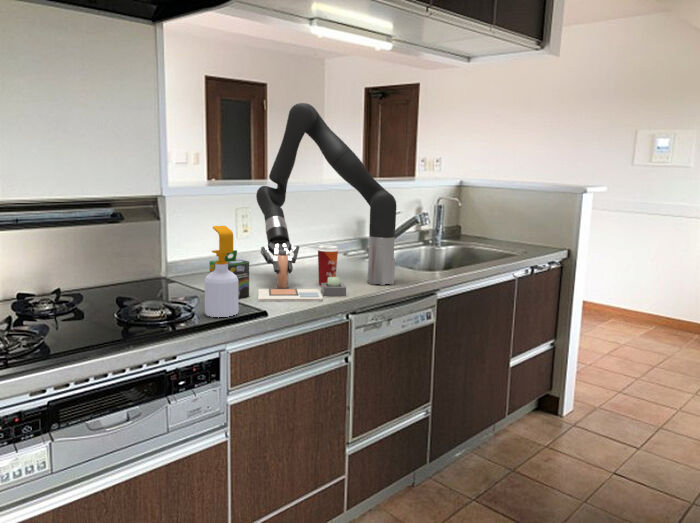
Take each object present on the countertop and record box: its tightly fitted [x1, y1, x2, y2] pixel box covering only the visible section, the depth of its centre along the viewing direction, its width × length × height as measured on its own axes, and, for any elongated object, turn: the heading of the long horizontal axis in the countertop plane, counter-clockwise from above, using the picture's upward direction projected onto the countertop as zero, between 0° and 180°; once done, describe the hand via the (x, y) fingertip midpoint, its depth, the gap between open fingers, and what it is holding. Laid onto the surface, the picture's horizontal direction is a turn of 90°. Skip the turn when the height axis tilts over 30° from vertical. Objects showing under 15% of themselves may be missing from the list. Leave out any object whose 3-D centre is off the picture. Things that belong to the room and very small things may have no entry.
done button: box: [328, 276, 341, 287], centre depth 188 cm, size 4×4×4 cm
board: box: [257, 288, 324, 302], centre depth 184 cm, size 20×14×1 cm
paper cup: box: [316, 244, 340, 285], centre depth 201 cm, size 8×8×14 cm
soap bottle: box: [204, 225, 239, 319], centre depth 157 cm, size 9×9×25 cm
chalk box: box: [209, 249, 250, 299], centre depth 180 cm, size 9×9×15 cm
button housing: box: [320, 282, 347, 297], centre depth 189 cm, size 7×7×3 cm
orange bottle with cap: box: [276, 250, 289, 289], centre depth 194 cm, size 4×4×13 cm
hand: (284, 272), depth 192 cm, fingers closed on orange bottle with cap, 3 cm apart
